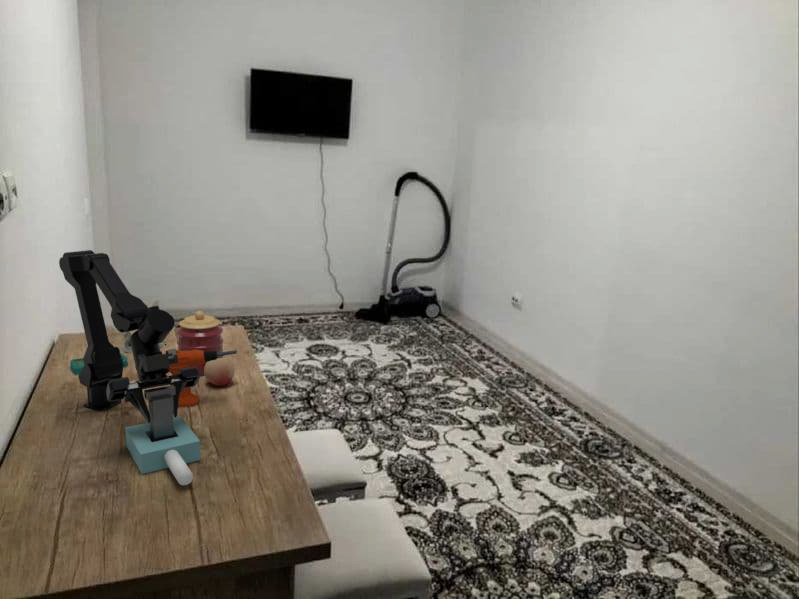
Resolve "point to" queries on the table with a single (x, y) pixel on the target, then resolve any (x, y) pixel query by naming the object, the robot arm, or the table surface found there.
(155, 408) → the grey t-shaped bar
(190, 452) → the block
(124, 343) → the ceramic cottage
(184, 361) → the toy drill
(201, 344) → the canister
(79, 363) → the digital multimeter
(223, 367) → the fruit
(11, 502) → the table surface
